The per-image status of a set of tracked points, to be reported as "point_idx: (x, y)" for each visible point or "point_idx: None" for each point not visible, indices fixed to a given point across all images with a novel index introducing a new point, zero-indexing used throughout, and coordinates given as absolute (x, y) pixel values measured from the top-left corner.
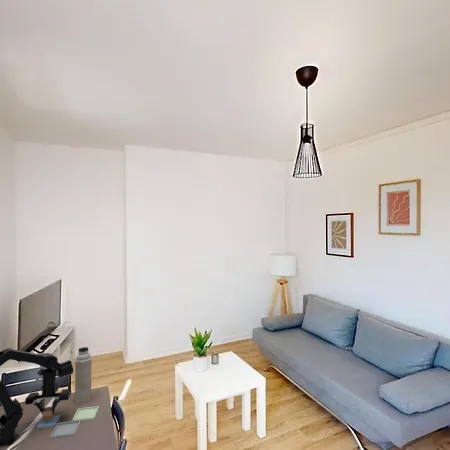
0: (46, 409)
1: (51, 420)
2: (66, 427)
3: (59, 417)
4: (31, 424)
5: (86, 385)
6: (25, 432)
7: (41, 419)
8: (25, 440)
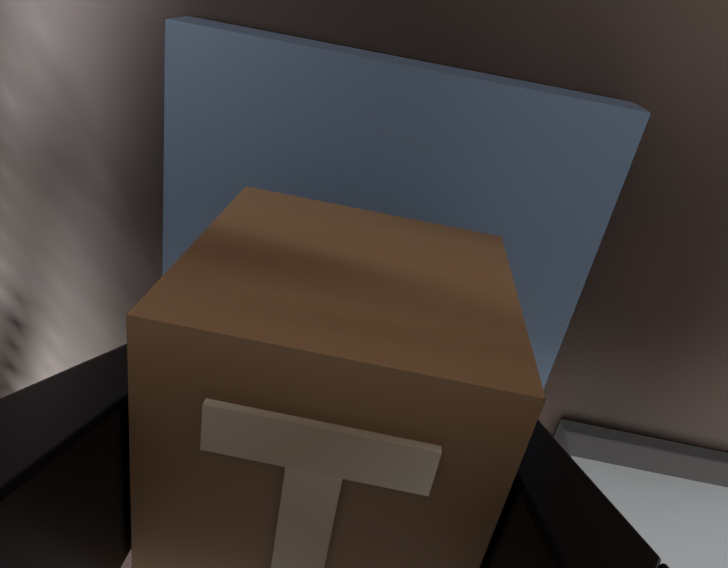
0: (226, 499)
1: None
2: (711, 565)
3: (612, 195)
4: (7, 154)
5: None
6: (29, 384)
7: (170, 133)
8: (129, 563)
